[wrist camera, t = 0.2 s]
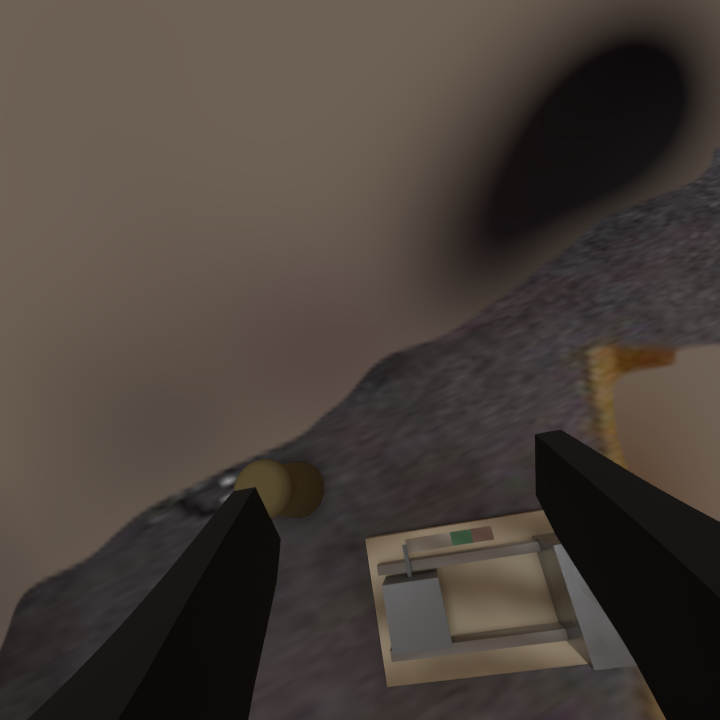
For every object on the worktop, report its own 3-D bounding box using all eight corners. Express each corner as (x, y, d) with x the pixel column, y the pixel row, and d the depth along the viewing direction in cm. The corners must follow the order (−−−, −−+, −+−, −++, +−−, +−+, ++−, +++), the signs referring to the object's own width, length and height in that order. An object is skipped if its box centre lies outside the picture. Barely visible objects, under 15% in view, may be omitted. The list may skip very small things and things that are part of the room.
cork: (275, 522, 39) (222, 534, 29) (271, 466, 41) (221, 459, 31) (327, 513, 38) (292, 521, 28) (320, 457, 40) (286, 446, 30)
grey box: (599, 632, 30) (638, 665, 24) (563, 637, 30) (594, 670, 25) (564, 530, 33) (592, 539, 27) (531, 535, 33) (553, 545, 28)
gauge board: (602, 654, 30) (618, 670, 28) (388, 680, 32) (385, 697, 30) (552, 507, 35) (562, 509, 32) (367, 537, 37) (362, 541, 34)
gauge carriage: (449, 631, 32) (452, 647, 28) (395, 638, 32) (392, 655, 29) (430, 538, 34) (430, 543, 31) (380, 545, 35) (376, 551, 32)
